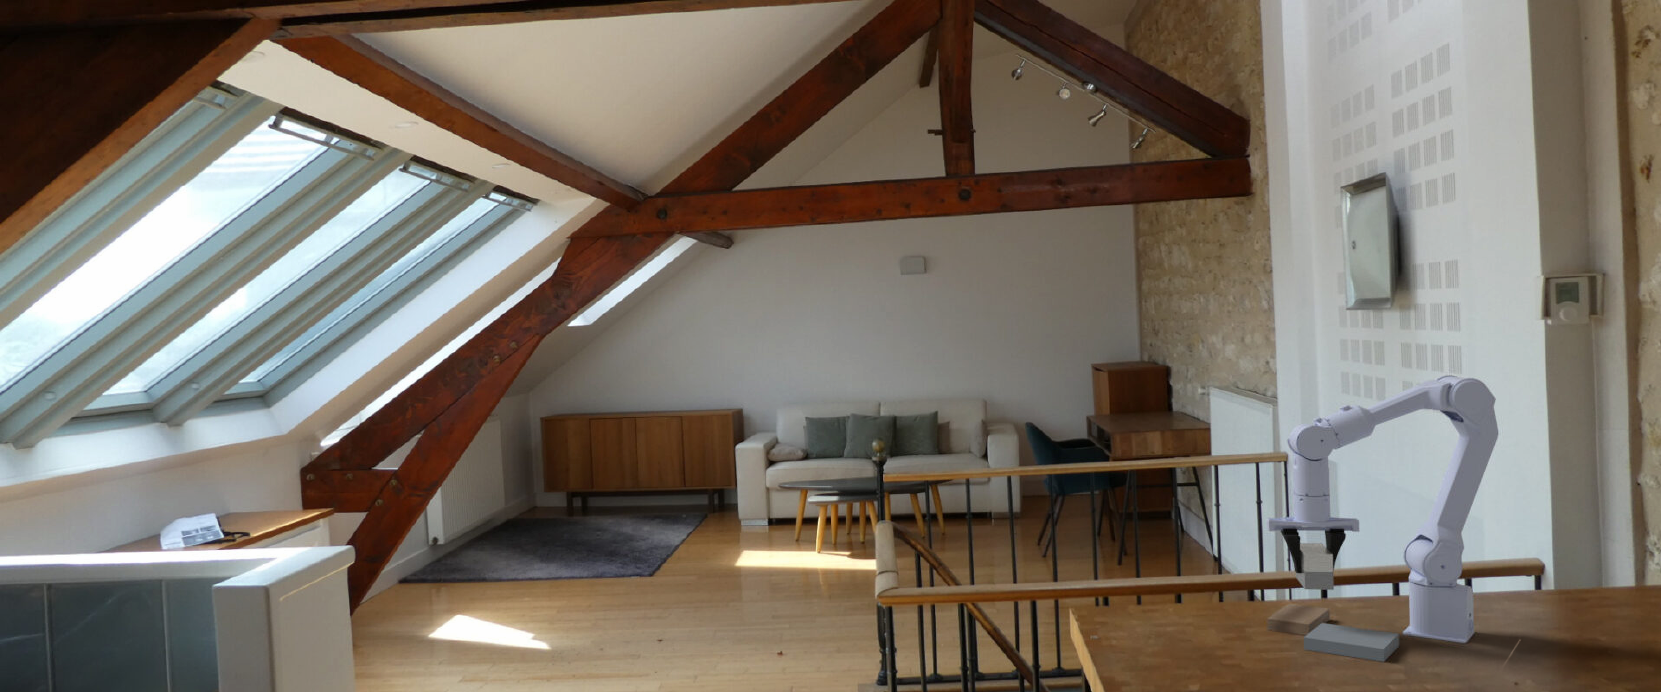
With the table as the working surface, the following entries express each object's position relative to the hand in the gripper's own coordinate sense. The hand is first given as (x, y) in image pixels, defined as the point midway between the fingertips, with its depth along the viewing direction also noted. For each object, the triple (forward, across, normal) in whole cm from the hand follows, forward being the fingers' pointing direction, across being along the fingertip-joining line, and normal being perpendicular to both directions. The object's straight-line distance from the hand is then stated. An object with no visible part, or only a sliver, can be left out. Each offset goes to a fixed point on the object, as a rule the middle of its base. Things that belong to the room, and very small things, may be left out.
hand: (1313, 572), depth 190 cm
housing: (+2, 0, 0) cm, 2 cm away
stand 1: (+10, +2, -4) cm, 11 cm away
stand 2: (+10, -4, +9) cm, 14 cm away
